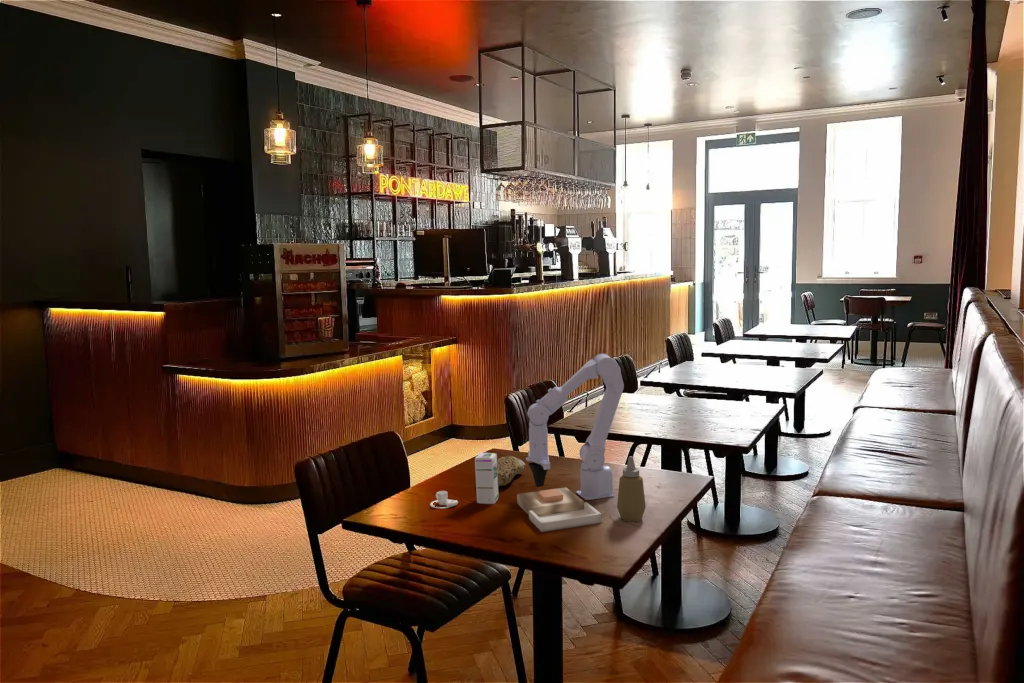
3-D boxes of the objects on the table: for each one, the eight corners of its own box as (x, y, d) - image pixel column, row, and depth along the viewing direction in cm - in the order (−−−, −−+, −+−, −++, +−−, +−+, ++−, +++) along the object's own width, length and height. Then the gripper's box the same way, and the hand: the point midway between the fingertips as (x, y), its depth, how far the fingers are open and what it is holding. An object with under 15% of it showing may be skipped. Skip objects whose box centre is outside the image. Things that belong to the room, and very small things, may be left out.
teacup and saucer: (461, 507, 218) (461, 494, 218) (437, 512, 214) (437, 499, 214) (449, 499, 226) (448, 486, 225) (425, 504, 222) (425, 491, 221)
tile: (555, 493, 218) (555, 488, 217) (563, 499, 212) (563, 494, 212) (537, 496, 216) (537, 491, 216) (544, 502, 210) (544, 497, 210)
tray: (586, 510, 211) (586, 502, 211) (601, 522, 201) (601, 514, 201) (529, 519, 205) (528, 510, 205) (541, 532, 196) (541, 523, 195)
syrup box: (495, 504, 218) (493, 457, 217) (476, 503, 220) (474, 457, 218) (498, 497, 224) (497, 452, 222) (480, 497, 225) (478, 452, 223)
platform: (566, 496, 223) (566, 487, 223) (583, 510, 211) (583, 500, 211) (517, 503, 218) (517, 494, 218) (531, 518, 206) (531, 508, 206)
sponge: (501, 473, 253) (466, 477, 236) (506, 451, 253) (472, 454, 236) (532, 486, 246) (498, 491, 229) (537, 464, 245) (504, 467, 229)
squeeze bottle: (611, 516, 206) (610, 455, 204) (635, 511, 209) (635, 451, 207) (626, 525, 198) (626, 462, 196) (651, 520, 202) (651, 458, 199)
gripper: (518, 438, 226) (519, 480, 228) (534, 450, 212) (535, 494, 214) (539, 436, 228) (540, 477, 230) (556, 447, 215) (557, 491, 216)
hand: (539, 485), depth 222 cm, fingers closed
